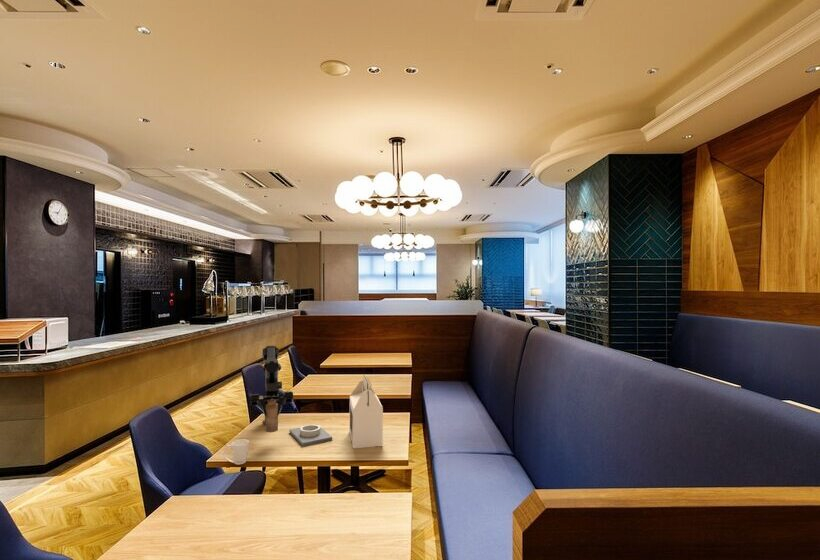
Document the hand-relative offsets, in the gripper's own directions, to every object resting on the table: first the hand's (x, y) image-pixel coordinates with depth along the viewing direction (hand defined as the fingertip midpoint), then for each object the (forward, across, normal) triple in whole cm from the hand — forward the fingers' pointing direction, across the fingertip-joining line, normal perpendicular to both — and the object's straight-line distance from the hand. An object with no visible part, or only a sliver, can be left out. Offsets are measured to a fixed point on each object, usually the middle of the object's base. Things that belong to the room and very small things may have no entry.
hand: (272, 415), depth 187 cm
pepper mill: (+4, 0, +6) cm, 7 cm away
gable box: (+13, +42, +6) cm, 44 cm away
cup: (+19, -14, 0) cm, 24 cm away
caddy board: (+6, +18, +13) cm, 23 cm away
